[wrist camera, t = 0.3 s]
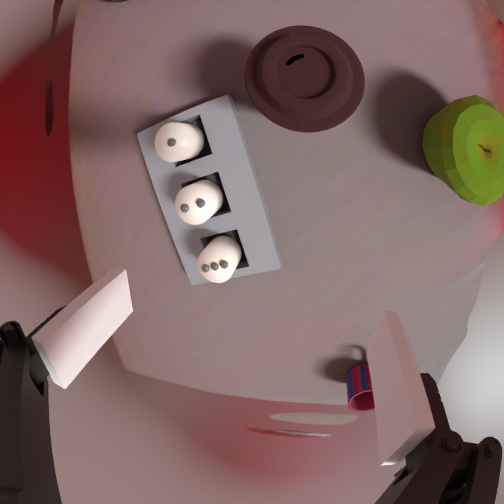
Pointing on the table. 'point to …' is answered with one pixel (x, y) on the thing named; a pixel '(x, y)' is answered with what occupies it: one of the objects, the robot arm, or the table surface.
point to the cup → (360, 388)
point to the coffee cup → (304, 79)
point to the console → (234, 183)
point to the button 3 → (219, 259)
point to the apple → (468, 149)
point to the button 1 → (178, 141)
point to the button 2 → (198, 201)
